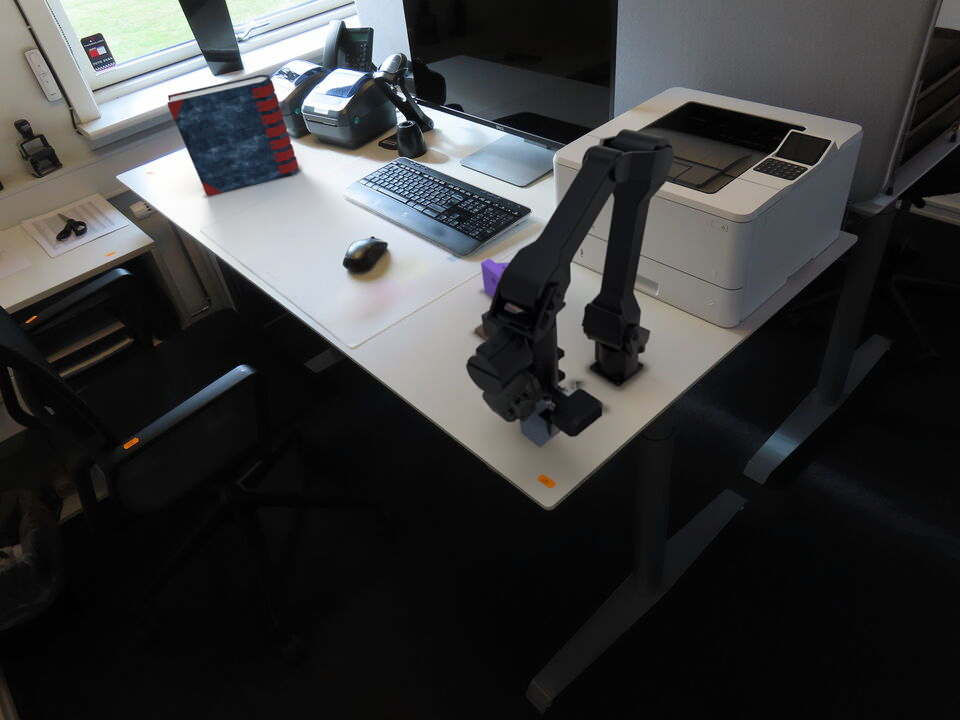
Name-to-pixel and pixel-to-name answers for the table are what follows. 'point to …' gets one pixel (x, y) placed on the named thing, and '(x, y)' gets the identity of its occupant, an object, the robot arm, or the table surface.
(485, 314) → the dark grey cube
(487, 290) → the bracket
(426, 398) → the table surface
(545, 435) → the blue-grey block
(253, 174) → the book
